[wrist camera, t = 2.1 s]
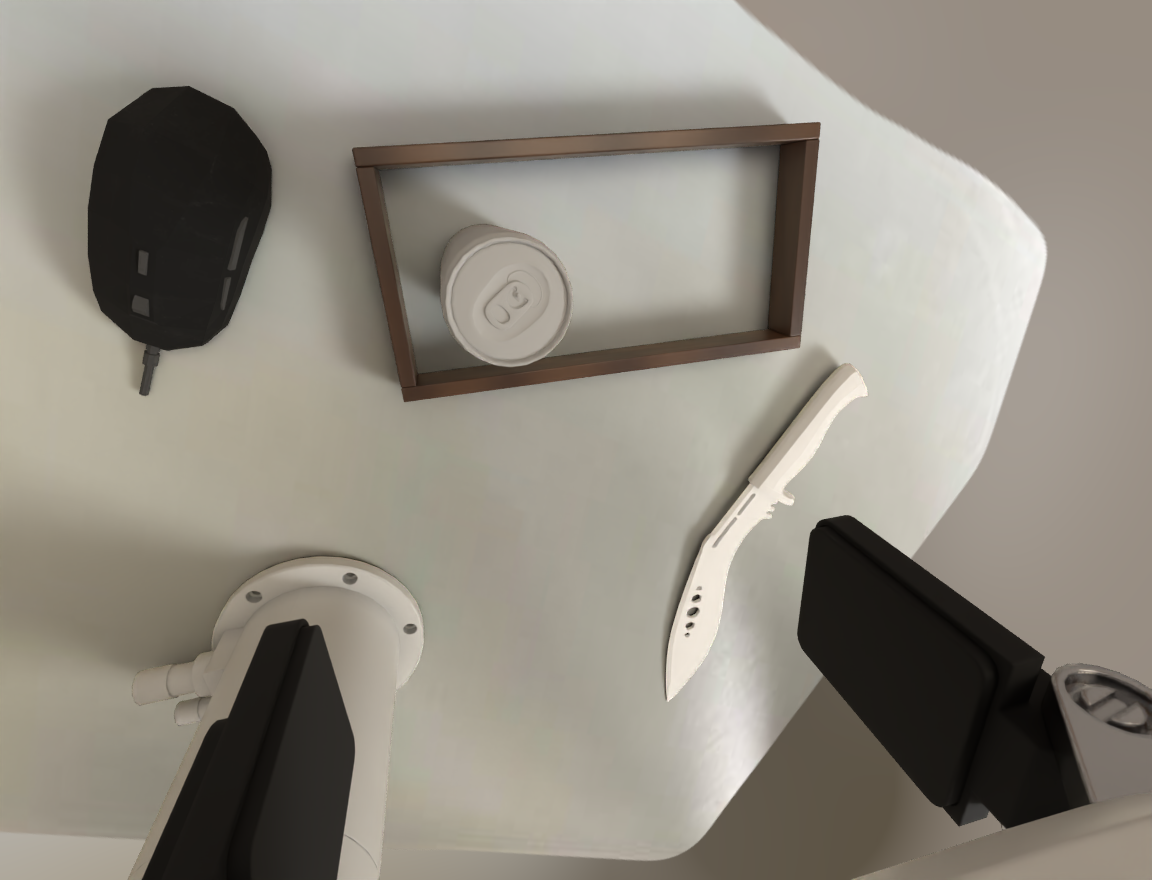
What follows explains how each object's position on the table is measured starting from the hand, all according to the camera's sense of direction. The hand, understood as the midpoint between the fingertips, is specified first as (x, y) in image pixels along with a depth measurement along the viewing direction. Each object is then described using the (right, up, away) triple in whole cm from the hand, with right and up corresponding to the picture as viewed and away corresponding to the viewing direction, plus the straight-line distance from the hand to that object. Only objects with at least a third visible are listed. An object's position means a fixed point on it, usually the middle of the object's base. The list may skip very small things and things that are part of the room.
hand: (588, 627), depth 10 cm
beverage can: (-5, +13, +20) cm, 24 cm away
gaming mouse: (-20, +12, +17) cm, 29 cm away
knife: (+12, -5, +32) cm, 34 cm away
